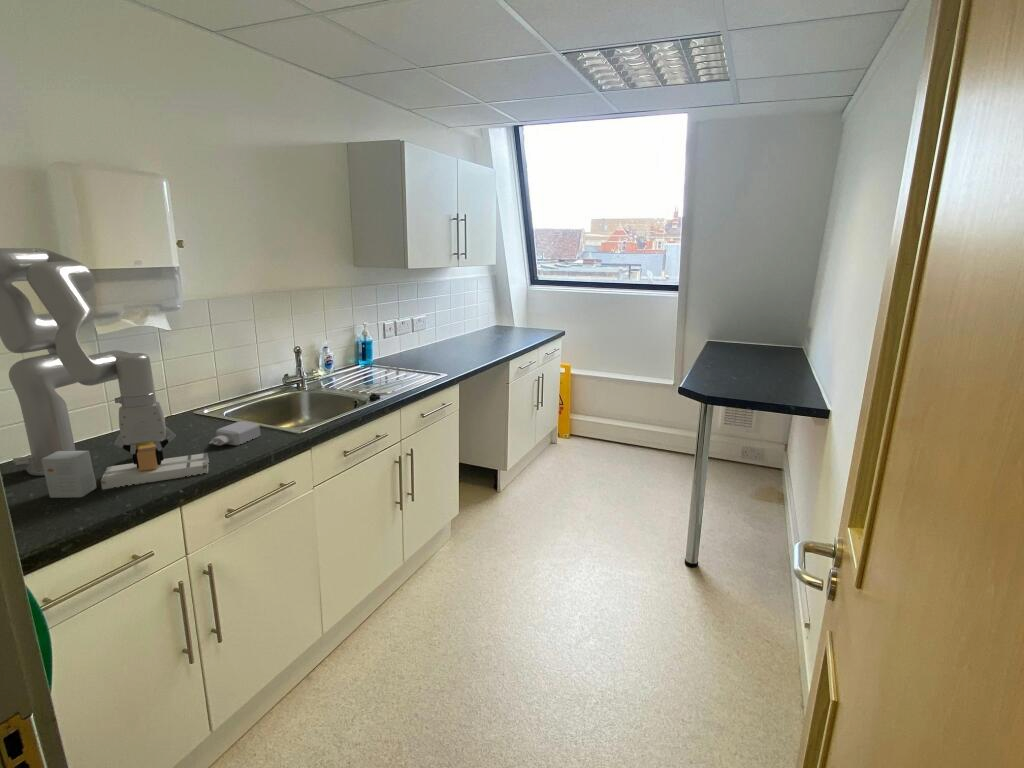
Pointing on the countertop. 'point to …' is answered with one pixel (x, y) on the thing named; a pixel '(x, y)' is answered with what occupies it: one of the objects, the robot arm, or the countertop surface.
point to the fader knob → (147, 457)
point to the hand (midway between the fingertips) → (149, 464)
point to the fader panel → (155, 471)
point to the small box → (69, 474)
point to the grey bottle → (236, 433)
